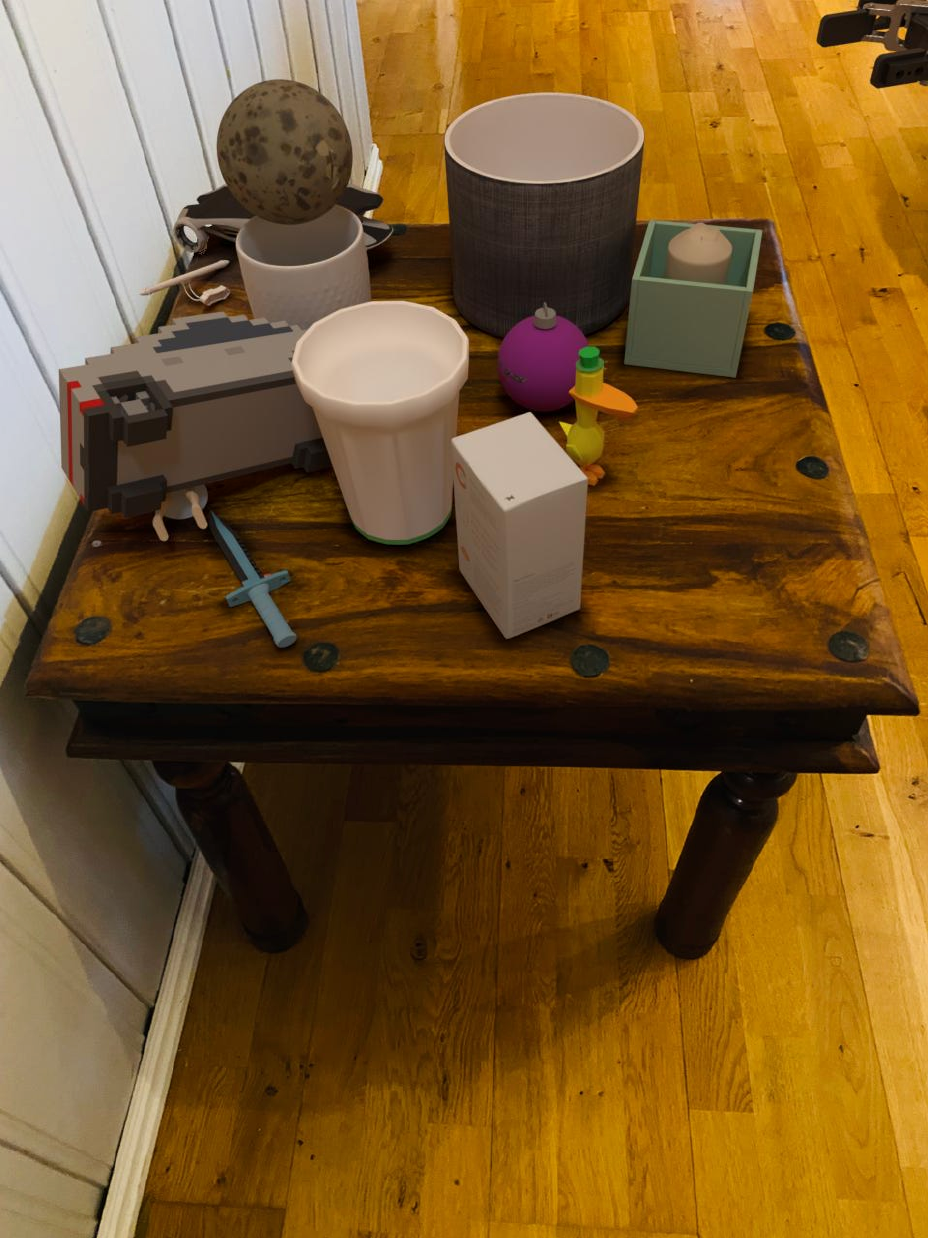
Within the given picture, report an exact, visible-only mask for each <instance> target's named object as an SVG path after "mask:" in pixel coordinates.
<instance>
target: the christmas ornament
mask: <svg viewBox="0 0 928 1238" xmlns="http://www.w3.org/2000/svg"><path fill="white" fill-rule="evenodd" d="M585 347H590V344H589V341H588V340H587V338H586V335H583V333H582V332H581V331H580V329H579V328H578V327H577V326H576V325H574V324H573V323H572V322H570V321H569V320H567V319H565V318H562V317H560V316H556V312H555V311H554V310H553V309H551V308H547V304H546V302H544V304H543V308H540V309H538V310H537V311H536V312H535V316H531V317H529V318H526V319H524V320H522V321H521V322H519V323H518V324H516V325H515V326H514V327H513V328H512V329H511V330H510V331H509V332H508V334H507V335H506V336H505V338H503V340H502V342H501V344H500V346H499V350H498V352H497V353H498V354H497V362H496V365H497V375H498V378H499V381H500V384H501V386H502V388H503V390H504V391H505V392H506V394H507V395H508V396H509V397H510V399H511V400H513V401H514V402H515V403H516V404H518V405H519V406H521V407H523V408H525V409H528V410H530V411H534V412H542V413H543V412H554V411H557V410H560V409H562V408H565V407H567V406H568V405H570V404H571V403H573V402H574V401H575V398H573V397H572V396H571V395H570V394H569V391H570V390H571V389H572V388H573V387H574V386H575V384H576V369H577V368H576V362H577V361H578V360H579V359H580V358H579V351H580V349H583V348H585Z"/></svg>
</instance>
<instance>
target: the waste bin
mask: <svg viewBox="0 0 928 1238" xmlns="http://www.w3.org/2000/svg"><path fill="white" fill-rule="evenodd" d="M695 224H696V223H690V222H680V221H670V220H669V221H668V220H657V219H649V220H648V224H647V228H646V231H645V234H644V238H643V240H642V244H641V248H640V251H639V254H638V257H637V261H636V264H635V267H634V271H633V274H632V278H631V283H630V295H629V306H628V315H627V316H628V317H627V326H626V327H627V328H626V337H625V338H626V339H625V349H624V359H623V364H624V365H626V366H627V365H628V366H636V367H643V368H653V369H661V370H667V371H668V370H669V371H675V372H676V371H678V372H684V373H693V374H700V375H701V374H703V375H710V376H717V377H718V376H719V377H726V378H733V379H734V378H735V379H736V378H737V374H738V369H739V364H740V359H741V355H742V349H743V344H744V340H745V332H746V329H747V324H748V320H749V314H750V308H751V304H752V299H753V294H754V288H755V282H756V277H757V270H758V269H757V268H758V263H759V256H760V249H761V244H762V243H761V242H762V237H763V230H762V229H755V228H746V227H745V228H743V227H734V226H723V225H713V224H706V225H707V226H708V227H716V228H718V229H719V230H720V232H721V233H722V234H723V235H724V236H725V237H726V238H727V240H728V241H729V242H730V243H731V245H732V253H731V259H730V265H729V271H728V276H727V282H726V285H720V284H711V283H701V282H691V281H682V280H672V279H664V278H665V270H666V262H667V253H668V245H669V242H670V241H671V239H673V238H674V237H675V236H676V235H678V234H679V233H681V232H683V231H685V230H686V229H689V228H691V227H693V226H694V225H695Z"/></svg>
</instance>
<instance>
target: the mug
mask: <svg viewBox="0 0 928 1238" xmlns="http://www.w3.org/2000/svg"><path fill="white" fill-rule="evenodd" d="M235 249H236V254H237V258H238V263H239V268H240V273H241V278H242V281H243V284H244V289H245V293H246V296H247V300H248V303H249V307H250V311H251V313H252V316H253V319H259V318H266V320H267V321H268V322H269V323H273V322H280V321H286V322H287V324H288V325H289V326H293V325H298V326H299V328H300V329H301V330H307V329H309V328H310V327H311V326H312V325H313V324H314V323H315V322H317V321H319V320H321V319H323V318H325V317H326V316H328V315H330V314H332V313H334V312H336V311H338V310H340V309H343V308H347V307H351V306H355V305H359V304H363V303H367V302H371V301H372V294H371V292H372V291H371V289H372V287H371V281H370V280H371V279H370V277H371V276H370V275H371V273H370V270H369V258H368V254H367V251H368V250H367V248H366V246H365V239H364V232H363V227H362V223H361V221H360V220H359V218H358V217H357V216H356V215H355V214H354V213H353V212H351V211H350V210H348V209H346V208H344V207H342V206H339V205H335V206H334V207H333V208H332V209H331V210H329V211H328V212H327V213H326V214H324V215H323V216H321V217H319V218H317V219H315V220H313V221H310V222H307V223H303V224H296V225H284V224H277V223H273V222H270V221H267V220H264V219H262V218H260V217H258V216H254V217H253V218H251V219H250V220H249V221H247V222H246V223H245V224H244V225H243V227H242V228H241V229H240V231H239V233H238V235H237V237H236V242H235Z"/></svg>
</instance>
